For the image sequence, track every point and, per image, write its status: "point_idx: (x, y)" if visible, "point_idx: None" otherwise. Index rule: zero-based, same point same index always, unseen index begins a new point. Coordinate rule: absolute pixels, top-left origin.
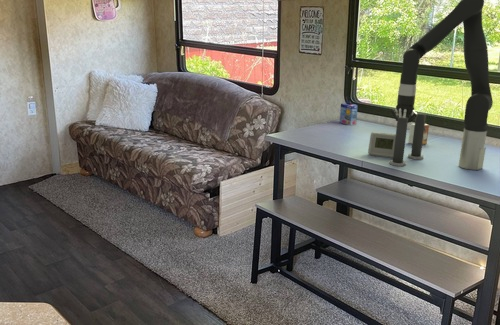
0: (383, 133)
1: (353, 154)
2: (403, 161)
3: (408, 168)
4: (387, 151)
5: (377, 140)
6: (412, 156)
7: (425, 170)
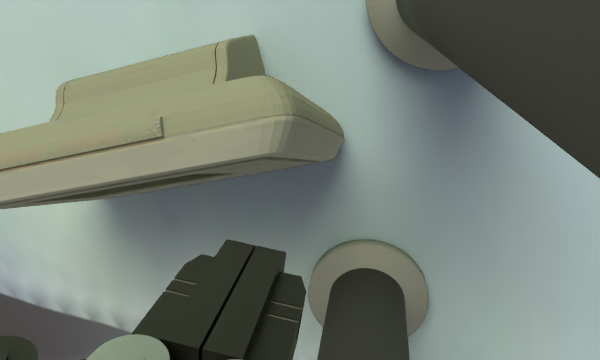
0: (16, 175)
1: (38, 232)
2: (400, 266)
3: (466, 345)
4: (213, 179)
5: (56, 198)
6: (425, 56)
7: (596, 333)
